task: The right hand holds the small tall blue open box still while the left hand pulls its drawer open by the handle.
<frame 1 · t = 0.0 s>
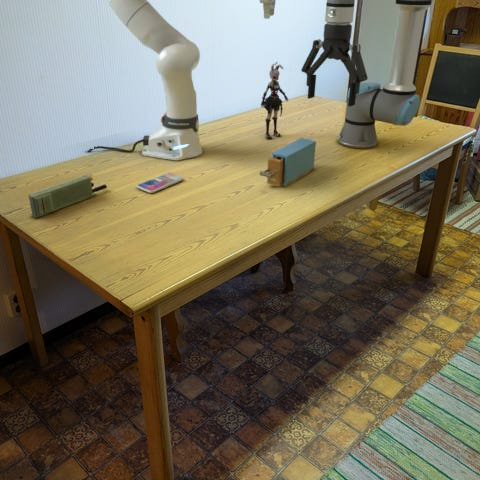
left hand: (268, 16, 163), 48 cm above the table, tool pointing down, fingers open, 8 cm apart
right hand: (330, 101, 149), 28 cm above the table, tool pointing down, fingers open, 13 cm apart
drawer: (284, 166, 165), point 5 cm above the table, slide at 1.9 cm
handheld radio: (72, 203, 151), on the table
smartphone: (160, 184, 164), on the table
figurine: (271, 136, 209), on the table
tall blue open box: (292, 175, 172), on the table
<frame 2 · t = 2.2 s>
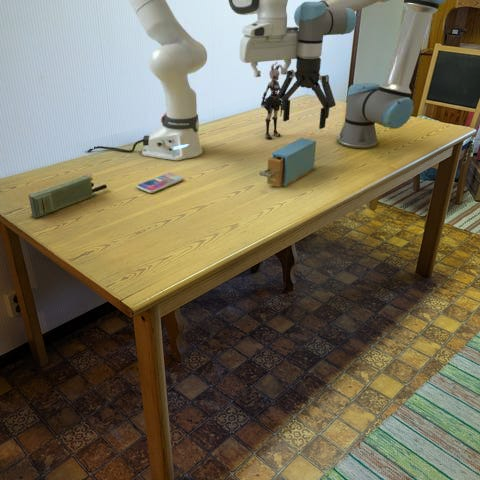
left hand: (270, 75, 159), 32 cm above the table, tool pointing down, fingers open, 8 cm apart
right hand: (303, 124, 167), 17 cm above the table, tool pointing down, fingers open, 13 cm apart
nothing on the table moved.
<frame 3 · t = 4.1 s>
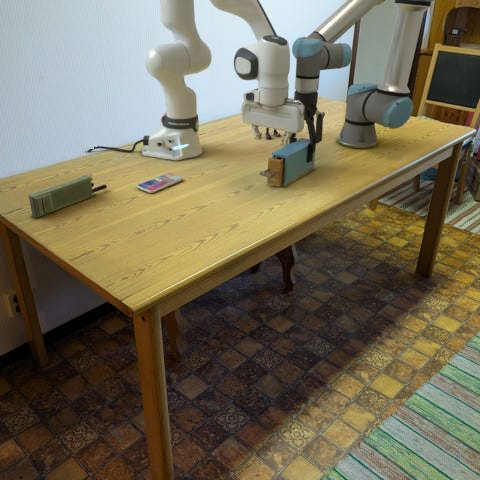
left hand: (271, 141, 154), 16 cm above the table, tool pointing down, fingers open, 8 cm apart
right hand: (301, 159, 173), 4 cm above the table, tool pointing down, fingers closed on tall blue open box, 6 cm apart
tall blue open box: (292, 175, 172), on the table, touching right hand
everything else where it was.
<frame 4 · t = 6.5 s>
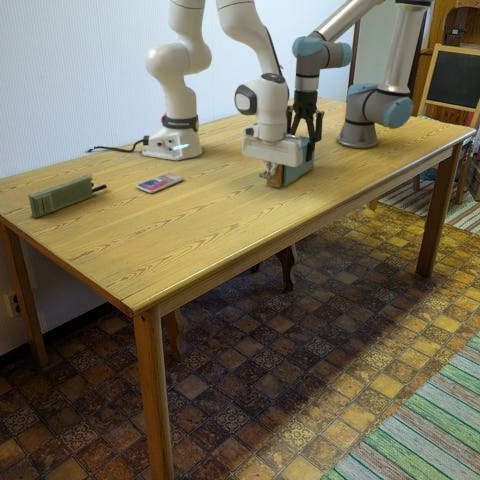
left hand: (271, 174, 158), 6 cm above the table, tool pointing down, fingers closed, pressing on drawer
right hand: (300, 158, 173), 5 cm above the table, tool pointing down, fingers closed on tall blue open box, 6 cm apart
drawer: (283, 167, 165), point 5 cm above the table, slide at 2.1 cm, touching left hand
tall blue open box: (292, 174, 172), on the table, touching right hand
everything else where it was.
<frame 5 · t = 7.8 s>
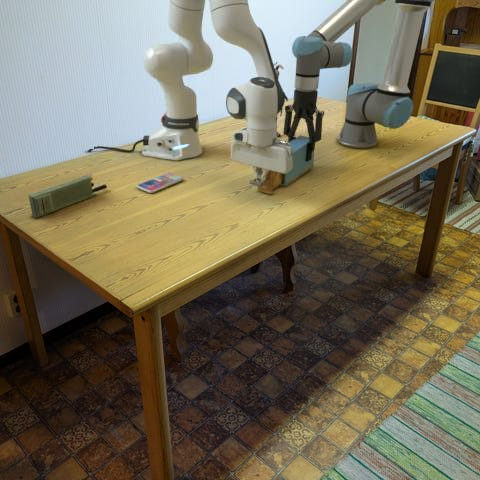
left hand: (260, 180, 154), 5 cm above the table, tool pointing down, fingers closed, pressing on drawer
right hand: (300, 158, 173), 5 cm above the table, tool pointing down, fingers closed on tall blue open box, 6 cm apart
drawer: (274, 172, 161), point 5 cm above the table, slide at 7.3 cm, touching left hand
tall blue open box: (292, 174, 172), point 1 cm above the table, touching right hand
everything else where it was.
when the right hand's fingers open (5 cm above the table, at t = 9.4 s): tall blue open box stays where it is, on the table.
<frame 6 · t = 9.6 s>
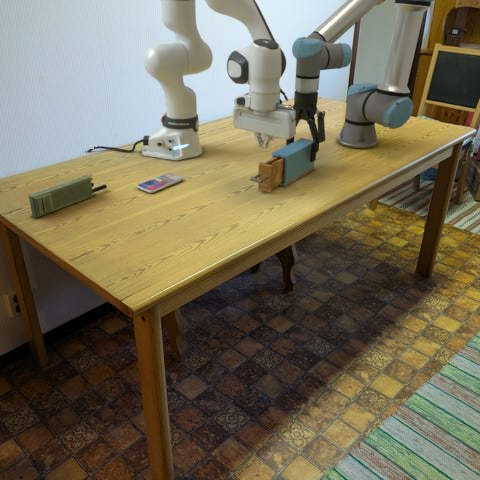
left hand: (262, 147, 151), 15 cm above the table, tool pointing down, fingers closed
right hand: (301, 158, 173), 5 cm above the table, tool pointing down, fingers open, 8 cm apart
drawer: (275, 171, 161), point 5 cm above the table, slide at 7.2 cm
tall blue open box: (292, 175, 172), on the table
everything else where it was.
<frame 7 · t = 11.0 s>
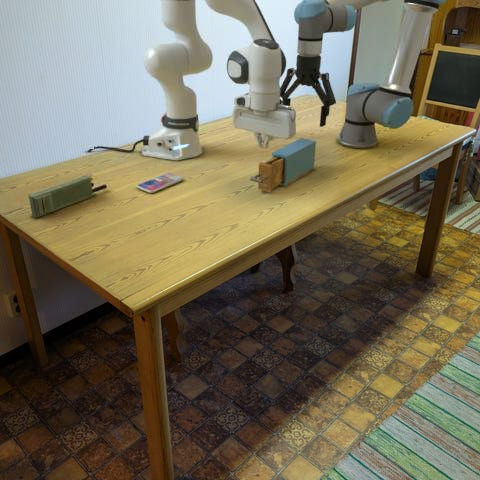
left hand: (262, 147, 151), 15 cm above the table, tool pointing down, fingers closed
right hand: (304, 122, 167), 17 cm above the table, tool pointing down, fingers open, 13 cm apart
nothing on the table moved.
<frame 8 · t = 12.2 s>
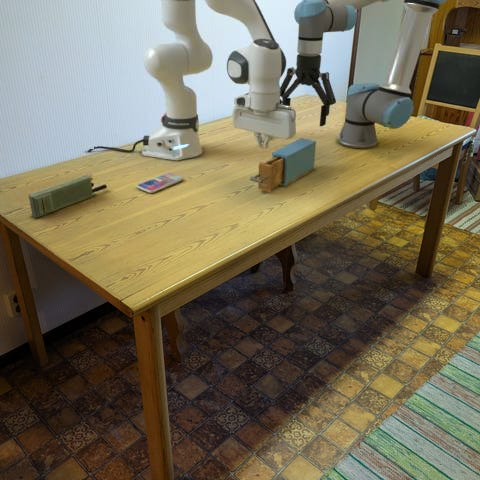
left hand: (262, 147, 151), 15 cm above the table, tool pointing down, fingers closed
right hand: (304, 121, 167), 18 cm above the table, tool pointing down, fingers open, 13 cm apart
nothing on the table moved.
at the end: drawer slide at 7.2 cm; tall blue open box tilted 0°; tall blue open box never tilted more than 4° during the clip; tall blue open box moved 0.0 cm from its start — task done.
